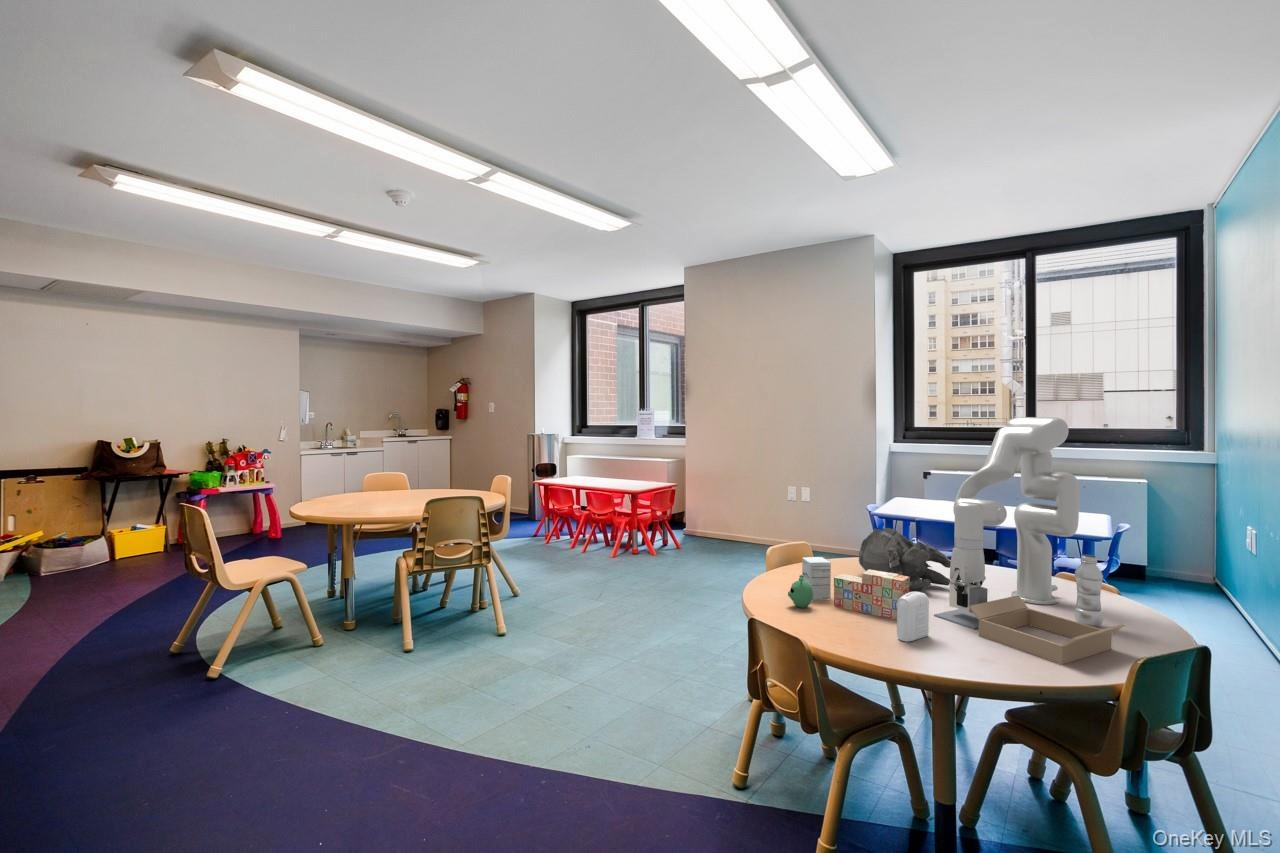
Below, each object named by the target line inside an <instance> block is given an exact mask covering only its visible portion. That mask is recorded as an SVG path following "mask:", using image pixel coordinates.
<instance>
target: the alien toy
mask: <svg viewBox="0 0 1280 853" xmlns="http://www.w3.org/2000/svg"><path fill="white" fill-rule="evenodd" d="M803 577H804V576H803V575H802V574H800V575H798V579H797V580H796V581H794V582H793V583H792V584H791V586H790V590H788V592H787V596H788V597H789V598H790V600H791V601H792V604H793V605H794V606H796V607H798V608H800V609H804V608H807V607H808V606H809V605H811V603H812V601H813V600H812V598H813V591H812V588H811V586H810V584H809V583H808V582H806V581H803V580H804V579H803Z"/></svg>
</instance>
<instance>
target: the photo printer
mask: <svg viewBox="0 0 1280 853" xmlns="http://www.w3.org/2000/svg"><path fill="white" fill-rule="evenodd" d="M929 602H930V599H929V597H928V595H927V594H926V593H925V592H921V591H909V593H907V594H905V595H903V596H902V597H901V598H900V599H899V600H898V603H897V620H896V637H897V639H898V640H900V641H903V642H906V643H907V642H914V641H916V640H919V639H922V638H925V637H927V636H928V635H929V632H930V631H929V628H930V626H929V625H930V624H929V623H930V622H929V619H930V618H929V617H930V615H929V614H930V612H929V611H930V610H929V608H930V603H929Z"/></svg>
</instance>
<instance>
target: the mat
mask: <svg viewBox="0 0 1280 853" xmlns="http://www.w3.org/2000/svg"><path fill="white" fill-rule="evenodd" d="M933 616H934V617H937V618H939V619H942V620H945V621H948V622H951V623H953V624H958V625H960V626H963V627H966V628H968V629H972V630H976V629H978V630H979V620H978V619H977V618H976V616H975V615H974V614H973V613H971V612H967V611H964V610H961V609H958V608H956V609H953V610H948V611H944V612H939V613H935V614H933Z"/></svg>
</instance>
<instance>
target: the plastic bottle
mask: <svg viewBox="0 0 1280 853" xmlns="http://www.w3.org/2000/svg"><path fill="white" fill-rule="evenodd" d="M1080 562H1081V564H1079V566H1078V567H1077V568H1076V569H1075V571H1074V577H1075V584H1076V591H1077V592H1076V595H1077V596H1076V605H1075V608H1074V619H1075V622H1078V623H1082V624H1085V625H1089V626H1092V627H1096V628H1098V627H1100V626H1102V624H1103V622H1104V615H1103V611H1102V603H1101V594H1102V592H1101V591H1102V585H1103V579H1104V574H1103V572H1102V571H1101V570H1100V568H1099V567H1098V556H1096V555H1093V554H1092V555H1091V554H1081V556H1080Z"/></svg>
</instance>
